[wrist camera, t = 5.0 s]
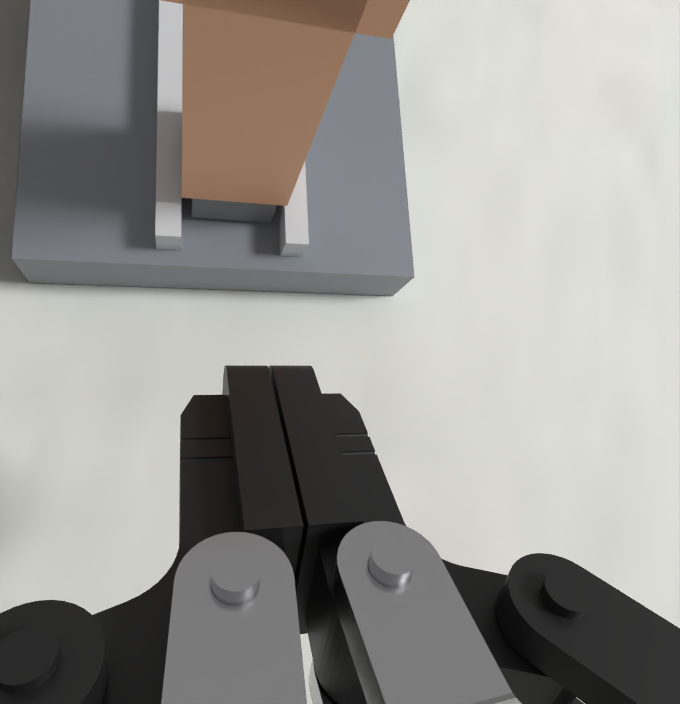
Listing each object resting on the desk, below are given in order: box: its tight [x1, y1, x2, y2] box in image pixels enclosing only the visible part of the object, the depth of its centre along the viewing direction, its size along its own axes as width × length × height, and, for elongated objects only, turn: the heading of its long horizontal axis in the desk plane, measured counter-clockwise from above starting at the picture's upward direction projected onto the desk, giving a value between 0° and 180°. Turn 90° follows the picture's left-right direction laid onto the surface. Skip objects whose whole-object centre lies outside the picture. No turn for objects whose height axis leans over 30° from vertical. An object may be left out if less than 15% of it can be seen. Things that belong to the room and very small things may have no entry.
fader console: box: [12, 0, 414, 296], centre depth 19 cm, size 12×16×3 cm
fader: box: [162, 0, 410, 223], centre depth 13 cm, size 4×3×10 cm
